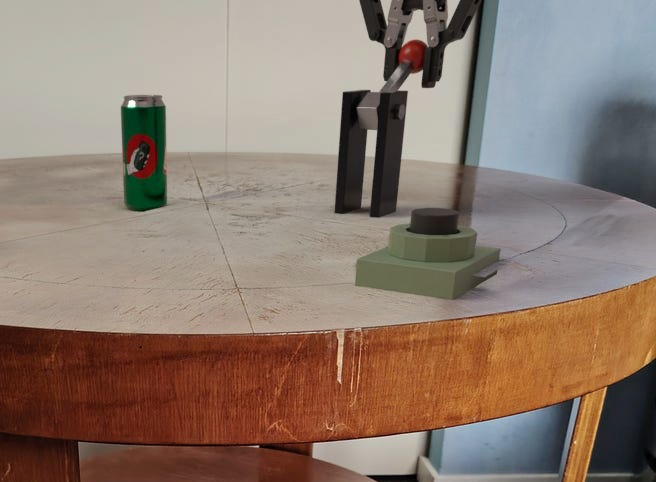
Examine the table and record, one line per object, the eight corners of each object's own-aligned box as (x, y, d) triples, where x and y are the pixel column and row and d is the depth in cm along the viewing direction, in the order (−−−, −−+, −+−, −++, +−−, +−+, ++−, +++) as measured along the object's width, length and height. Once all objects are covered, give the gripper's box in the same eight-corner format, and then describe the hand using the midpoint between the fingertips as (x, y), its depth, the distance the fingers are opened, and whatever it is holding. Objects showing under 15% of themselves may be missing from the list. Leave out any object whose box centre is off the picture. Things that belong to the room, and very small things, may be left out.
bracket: (336, 213, 101) (345, 88, 95) (430, 223, 95) (446, 90, 89) (297, 226, 94) (304, 92, 88) (395, 237, 89) (409, 94, 83)
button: (463, 233, 71) (466, 210, 70) (446, 240, 69) (449, 217, 68) (419, 228, 73) (422, 206, 72) (401, 235, 70) (404, 212, 70)
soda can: (175, 208, 105) (174, 95, 99) (136, 212, 102) (133, 97, 97) (154, 203, 109) (152, 94, 103) (116, 206, 106) (112, 95, 101)
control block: (496, 275, 74) (504, 225, 72) (452, 301, 67) (459, 246, 65) (405, 263, 78) (410, 216, 76) (354, 286, 71) (358, 235, 69)
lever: (407, 63, 97) (404, 33, 94) (435, 63, 95) (433, 33, 92) (355, 133, 91) (350, 103, 89) (384, 134, 89) (380, 104, 87)
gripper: (515, -111, 86) (488, 87, 94) (379, -98, 94) (364, 84, 102) (489, -121, 81) (463, 90, 89) (347, -106, 88) (334, 87, 96)
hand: (410, 86), depth 95 cm, fingers closed on lever, 3 cm apart
